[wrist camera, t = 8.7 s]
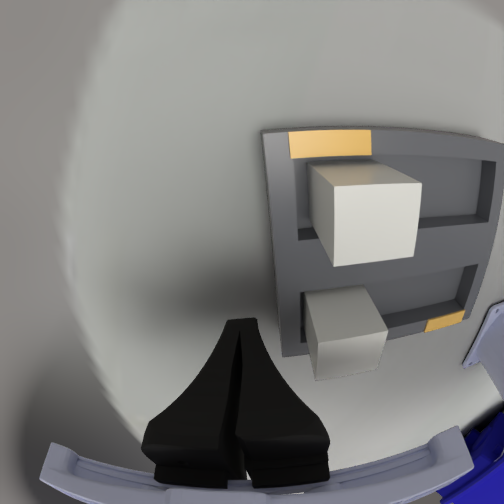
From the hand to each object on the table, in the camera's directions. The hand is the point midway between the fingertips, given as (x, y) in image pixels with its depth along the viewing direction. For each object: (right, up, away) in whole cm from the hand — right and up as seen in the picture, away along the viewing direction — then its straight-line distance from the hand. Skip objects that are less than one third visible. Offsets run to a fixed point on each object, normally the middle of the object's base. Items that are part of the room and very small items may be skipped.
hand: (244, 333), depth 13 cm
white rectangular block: (+4, +7, -2) cm, 8 cm away
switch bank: (+8, +5, +1) cm, 9 cm away
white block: (+5, +1, +1) cm, 5 cm away
